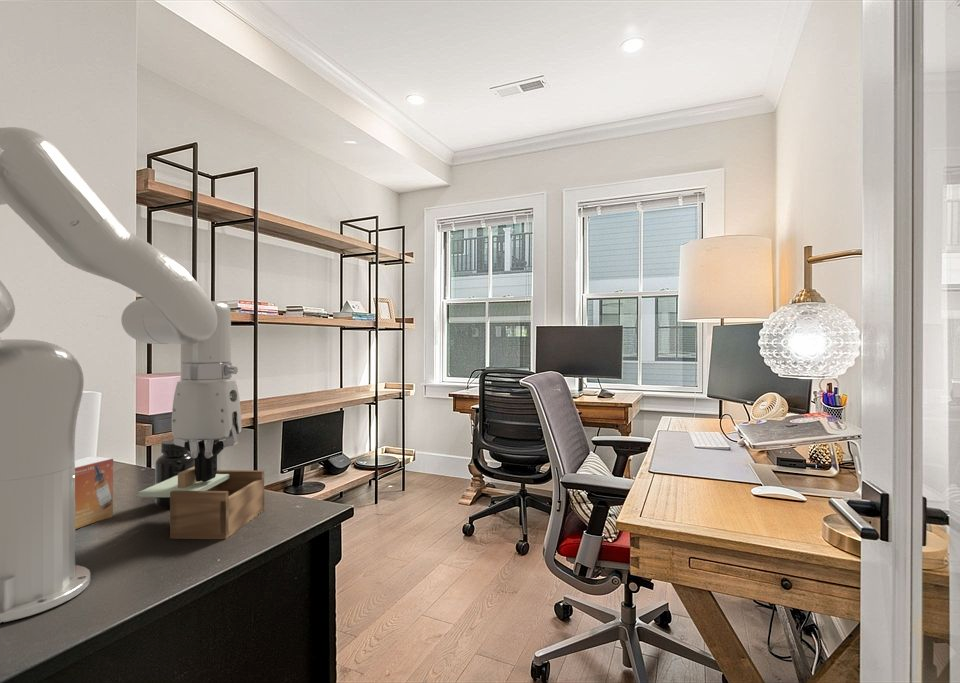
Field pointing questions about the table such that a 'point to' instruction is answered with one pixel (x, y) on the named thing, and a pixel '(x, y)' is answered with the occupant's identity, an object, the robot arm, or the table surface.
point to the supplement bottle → (171, 466)
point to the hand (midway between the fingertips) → (205, 479)
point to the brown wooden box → (217, 506)
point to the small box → (93, 490)
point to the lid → (182, 484)
